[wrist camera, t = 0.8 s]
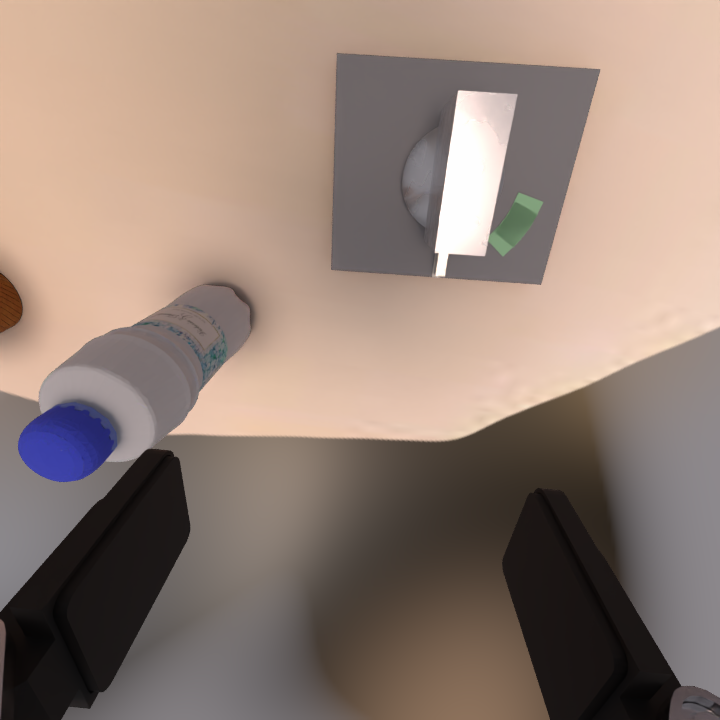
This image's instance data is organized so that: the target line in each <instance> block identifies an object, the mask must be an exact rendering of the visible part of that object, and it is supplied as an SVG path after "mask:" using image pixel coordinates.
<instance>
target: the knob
mask: <svg viewBox="0 0 720 720" xmlns="http://www.w3.org/2000/svg"><path fill="white" fill-rule="evenodd" d="M517 95H518V94H507V93H491V92H475V91H459V90H458V91H457V92H456V94H455V95H454V96H453V97H452V98H451V100H450V101H449V102H448V103H447V104H446V106H445V107H444V108H443V109H442V110H441V112H440V118H439V126H438V127H437V128H435V129H433V130H432V131H430V132H429V133H427V134H426V135H425V136H424V137H423V138H422V139H421V140H420V141H419V142H418V143H417V144H416V145H415V147H414V148H413V150H412V151H411V153H410V155H409V156H408V159H407V161H406V163H405V167H404V170H403V176H402V192H403V197H404V201H405V204H406V206H407V208H408V210H409V212H410V213H411V215H412V216H413V217H414V218H415V219H416V221H418V222H419V223H420V224H421V225H422V226H424V227H425V234H424V240H425V241H426V243H427V244H428V245H429V246H430V248H431V249H432V250H433V251H434V252H435V253H436V258H435V265H434V272H433V273H434V274H435V276H443V277H445V272H446V266H447V259H448V254H460V255H474V256H485V253H486V248H487V243H488V239H489V234H490V229H491V224H492V219H493V214H494V209H495V204H496V203H497V201H498V199H499V196H500V194H501V191H502V187H503V182H504V160H505V155H506V150H507V145H508V140H509V135H510V130H511V125H512V120H513V115H514V110H515V105H516V100H517Z"/></svg>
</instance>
